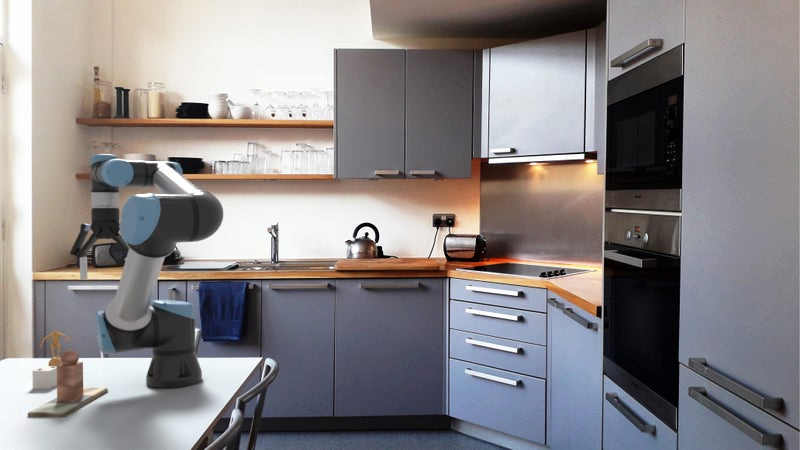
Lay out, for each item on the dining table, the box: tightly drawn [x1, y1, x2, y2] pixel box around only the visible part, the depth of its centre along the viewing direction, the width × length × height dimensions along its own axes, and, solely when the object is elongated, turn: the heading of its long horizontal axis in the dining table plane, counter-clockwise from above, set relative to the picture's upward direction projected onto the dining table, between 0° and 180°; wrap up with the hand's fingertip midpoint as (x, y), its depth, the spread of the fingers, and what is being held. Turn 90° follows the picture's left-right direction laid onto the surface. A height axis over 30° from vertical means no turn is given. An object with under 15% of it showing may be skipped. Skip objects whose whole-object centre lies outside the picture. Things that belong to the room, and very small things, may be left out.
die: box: [31, 365, 57, 390], centre depth 182 cm, size 5×5×5 cm
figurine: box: [39, 329, 71, 366], centre depth 200 cm, size 8×6×12 cm
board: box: [27, 386, 109, 418], centre depth 165 cm, size 9×21×1 cm, turn 177°
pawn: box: [56, 349, 84, 402], centre depth 165 cm, size 4×4×13 cm
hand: (106, 279), depth 191 cm, fingers open, 13 cm apart
